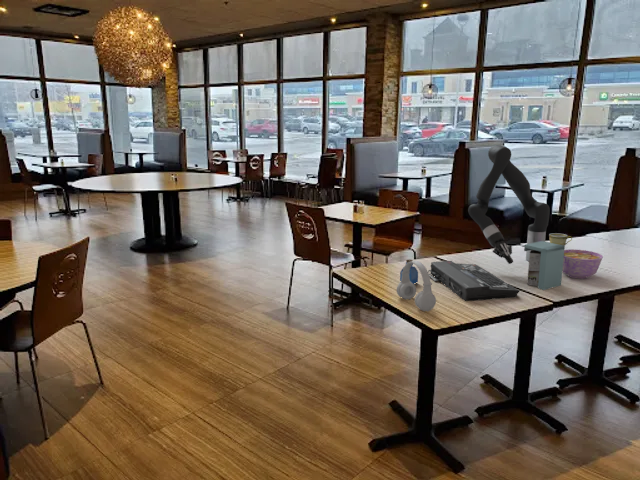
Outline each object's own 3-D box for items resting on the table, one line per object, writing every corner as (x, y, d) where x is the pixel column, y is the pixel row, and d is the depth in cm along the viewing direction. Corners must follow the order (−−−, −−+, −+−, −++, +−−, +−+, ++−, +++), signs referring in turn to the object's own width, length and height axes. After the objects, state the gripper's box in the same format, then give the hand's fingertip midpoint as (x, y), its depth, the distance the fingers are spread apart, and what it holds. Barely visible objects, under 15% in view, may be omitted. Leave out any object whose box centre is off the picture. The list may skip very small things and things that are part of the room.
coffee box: (541, 286, 230) (544, 254, 227) (526, 284, 233) (529, 252, 230) (543, 281, 238) (546, 249, 234) (529, 279, 241) (532, 248, 237)
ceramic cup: (550, 252, 289) (551, 236, 287) (545, 248, 299) (547, 233, 297) (573, 253, 287) (575, 237, 285) (568, 249, 297) (569, 233, 295)
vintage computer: (521, 297, 216) (521, 280, 215) (460, 304, 212) (460, 286, 211) (476, 272, 258) (476, 257, 256) (425, 277, 254) (425, 262, 252)
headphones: (436, 310, 204) (438, 266, 199) (419, 313, 201) (420, 269, 196) (411, 295, 222) (412, 255, 218) (395, 298, 219) (396, 257, 215)
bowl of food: (550, 277, 244) (552, 255, 241) (563, 268, 258) (565, 247, 256) (594, 285, 231) (596, 261, 228) (605, 275, 245) (607, 253, 242)
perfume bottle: (407, 281, 243) (407, 258, 240) (417, 283, 239) (418, 260, 236) (400, 283, 239) (400, 260, 236) (410, 286, 235) (411, 262, 232)
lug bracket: (538, 278, 242) (542, 241, 237) (561, 285, 232) (564, 245, 227) (521, 283, 235) (524, 244, 231) (543, 290, 225) (547, 249, 221)
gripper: (489, 232, 249) (507, 261, 241) (506, 229, 255) (524, 257, 248) (480, 241, 254) (498, 268, 247) (497, 237, 261) (515, 264, 253)
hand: (511, 262), depth 247 cm, fingers closed
